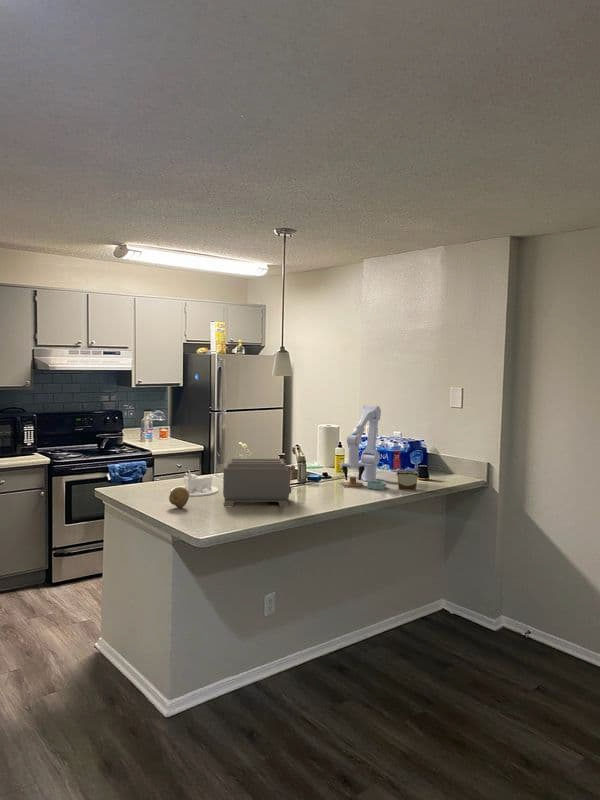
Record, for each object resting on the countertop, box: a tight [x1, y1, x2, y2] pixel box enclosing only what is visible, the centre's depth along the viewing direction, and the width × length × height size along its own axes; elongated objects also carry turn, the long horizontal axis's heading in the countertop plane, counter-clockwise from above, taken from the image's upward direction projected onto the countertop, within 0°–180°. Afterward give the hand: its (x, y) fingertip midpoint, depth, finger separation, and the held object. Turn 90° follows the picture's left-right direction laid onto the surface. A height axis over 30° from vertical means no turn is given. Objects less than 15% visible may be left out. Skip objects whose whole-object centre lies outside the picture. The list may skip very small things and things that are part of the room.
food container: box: [396, 469, 420, 491], centre depth 346 cm, size 12×6×10 cm, turn 84°
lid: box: [342, 476, 364, 487], centre depth 352 cm, size 11×11×4 cm
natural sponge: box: [168, 486, 190, 509], centre depth 292 cm, size 9×9×10 cm
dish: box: [170, 469, 219, 497], centre depth 329 cm, size 25×25×11 cm
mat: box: [339, 482, 367, 488], centre depth 352 cm, size 12×12×1 cm
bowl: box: [367, 480, 387, 490], centre depth 347 cm, size 10×10×3 cm
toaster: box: [222, 458, 296, 507], centre depth 307 cm, size 19×35×20 cm, turn 95°
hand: (352, 479), depth 352 cm, fingers open, 7 cm apart
